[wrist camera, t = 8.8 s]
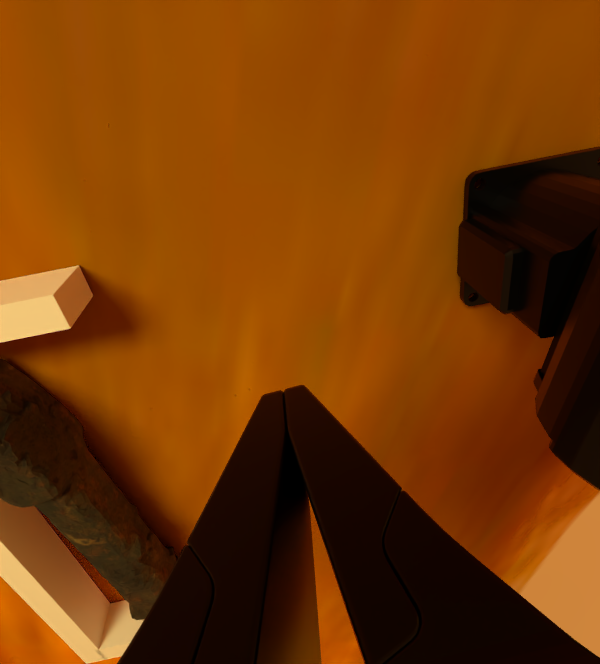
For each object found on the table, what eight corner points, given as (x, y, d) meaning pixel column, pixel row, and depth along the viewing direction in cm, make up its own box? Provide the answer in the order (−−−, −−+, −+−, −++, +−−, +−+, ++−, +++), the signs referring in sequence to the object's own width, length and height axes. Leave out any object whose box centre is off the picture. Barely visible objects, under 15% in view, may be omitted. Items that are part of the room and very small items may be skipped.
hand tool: (193, 555, 30) (186, 626, 26) (139, 569, 30) (123, 642, 26) (57, 337, 20) (13, 398, 16) (-23, 358, 20) (-86, 424, 16)
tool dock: (78, 265, 18) (53, 294, 16) (230, 588, 32) (229, 632, 30) (-157, 311, 18) (-222, 349, 16) (98, 617, 32) (86, 663, 30)
